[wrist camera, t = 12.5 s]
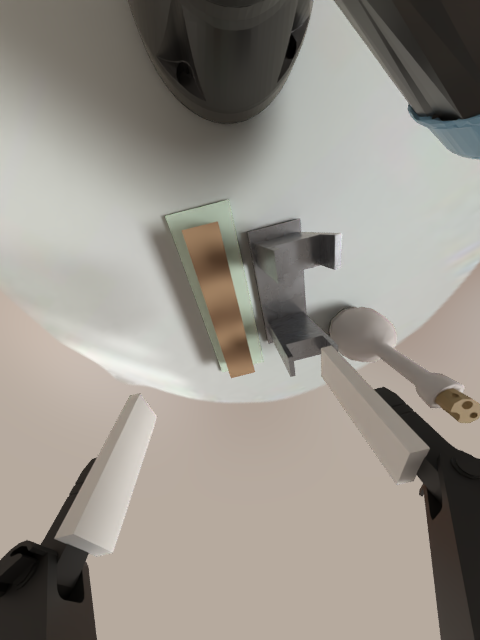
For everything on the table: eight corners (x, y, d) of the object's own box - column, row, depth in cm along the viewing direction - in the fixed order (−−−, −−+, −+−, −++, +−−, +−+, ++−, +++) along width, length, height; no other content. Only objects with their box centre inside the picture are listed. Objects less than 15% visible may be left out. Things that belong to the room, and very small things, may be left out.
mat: (166, 216, 22) (164, 215, 22) (228, 199, 22) (228, 199, 22) (222, 370, 34) (222, 372, 34) (263, 360, 34) (263, 361, 34)
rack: (246, 232, 24) (265, 233, 15) (297, 218, 24) (348, 211, 15) (267, 341, 32) (288, 386, 23) (305, 331, 32) (341, 372, 23)
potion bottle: (337, 352, 35) (436, 453, 19) (315, 323, 32) (414, 418, 16) (378, 324, 33) (526, 411, 17) (359, 290, 30) (523, 360, 14)
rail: (187, 230, 23) (181, 230, 19) (217, 222, 23) (217, 221, 19) (229, 362, 33) (231, 378, 29) (250, 356, 33) (254, 372, 29)
